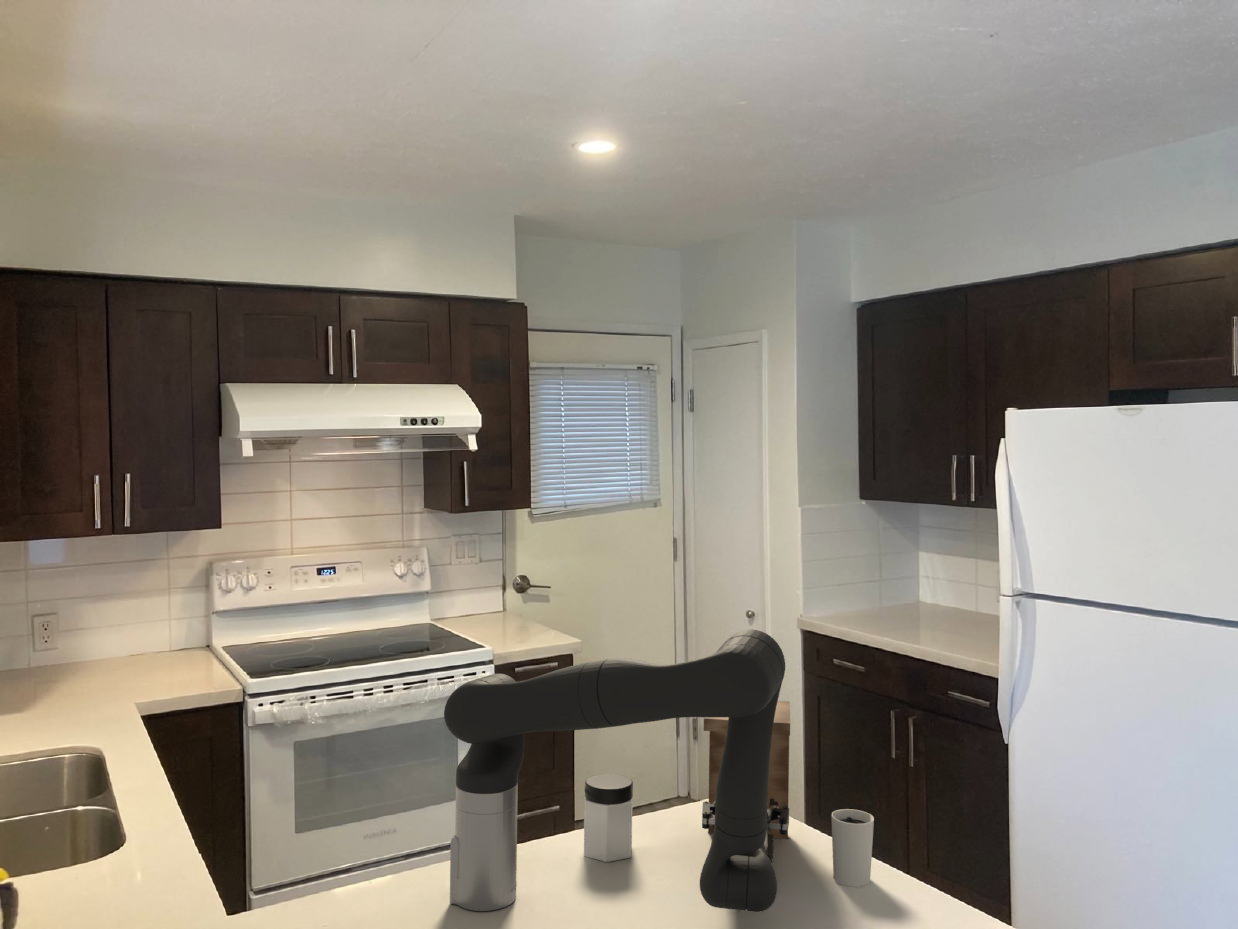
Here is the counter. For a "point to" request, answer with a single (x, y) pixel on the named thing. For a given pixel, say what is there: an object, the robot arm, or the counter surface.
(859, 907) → the counter surface
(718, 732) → the shelf
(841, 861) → the white cup
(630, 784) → the jar
